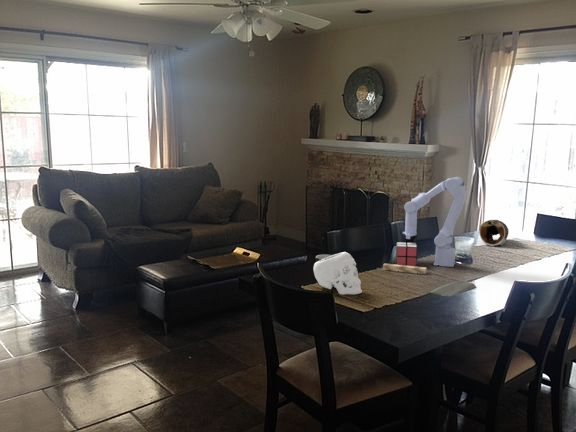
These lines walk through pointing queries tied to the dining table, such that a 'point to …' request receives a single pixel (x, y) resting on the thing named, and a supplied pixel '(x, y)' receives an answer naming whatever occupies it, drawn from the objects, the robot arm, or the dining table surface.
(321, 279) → the skull planter
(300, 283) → the dining table surface
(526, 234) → the dining table surface
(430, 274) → the dining table surface
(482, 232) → the clay pot
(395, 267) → the board
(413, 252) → the puzzle cube
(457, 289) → the stone slab
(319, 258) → the coffee mug
